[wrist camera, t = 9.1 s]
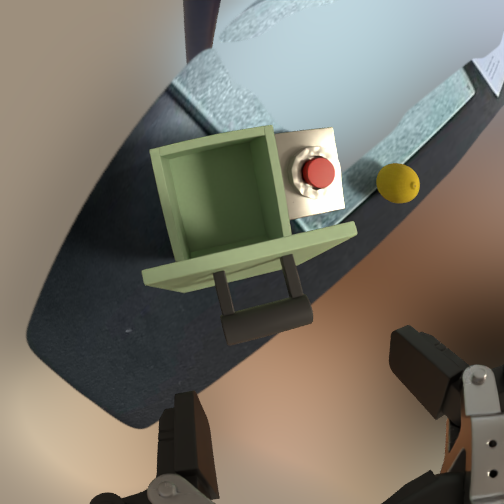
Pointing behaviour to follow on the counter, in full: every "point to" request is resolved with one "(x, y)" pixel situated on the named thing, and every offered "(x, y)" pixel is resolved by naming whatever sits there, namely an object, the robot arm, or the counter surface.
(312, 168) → the button
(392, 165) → the lemon
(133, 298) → the counter surface
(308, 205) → the switch block
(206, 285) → the lid
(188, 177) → the green lidded box
